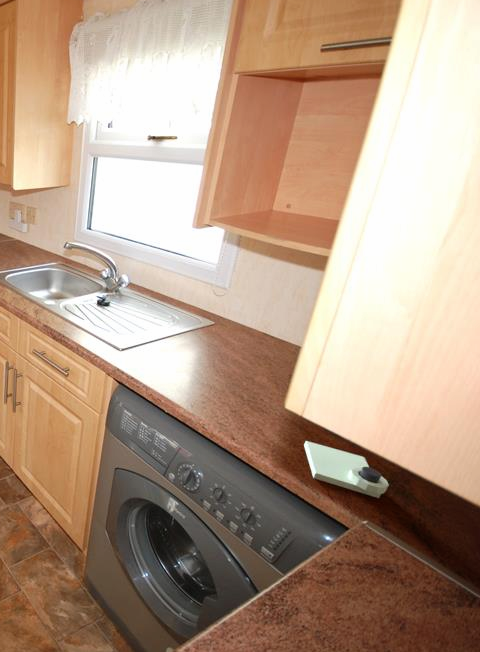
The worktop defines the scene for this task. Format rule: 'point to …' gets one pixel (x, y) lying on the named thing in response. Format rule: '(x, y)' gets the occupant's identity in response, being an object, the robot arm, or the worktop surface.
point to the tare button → (370, 474)
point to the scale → (341, 469)
